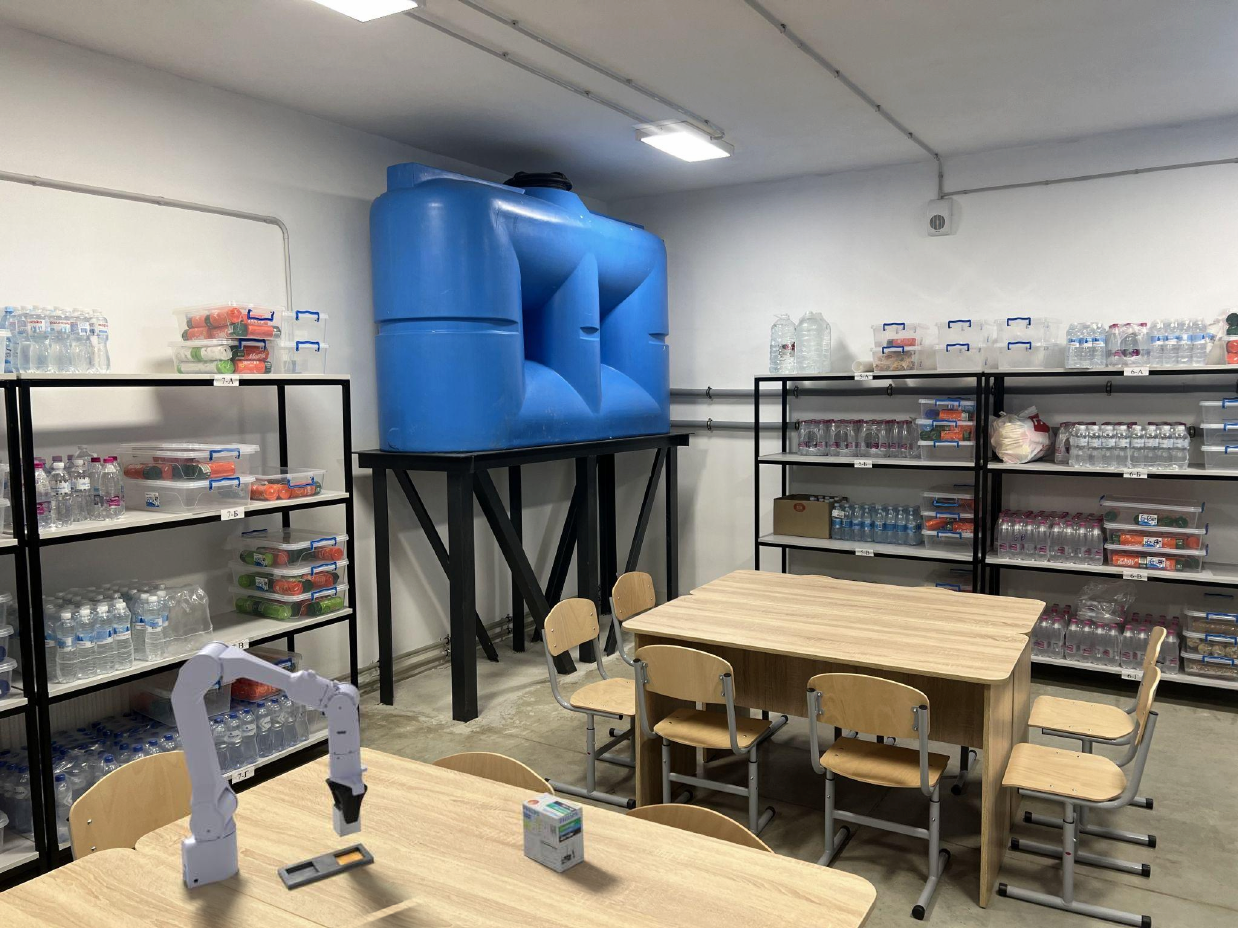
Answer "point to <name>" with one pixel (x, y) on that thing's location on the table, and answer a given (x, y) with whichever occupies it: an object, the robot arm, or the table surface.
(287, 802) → the table surface
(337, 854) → the dark gray slotted base
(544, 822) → the light bulb box
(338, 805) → the grey square block
